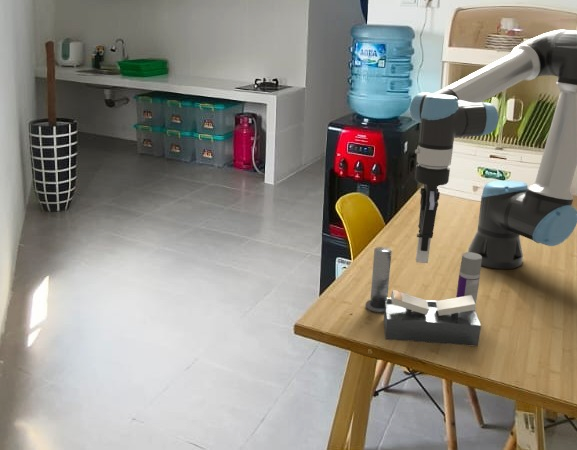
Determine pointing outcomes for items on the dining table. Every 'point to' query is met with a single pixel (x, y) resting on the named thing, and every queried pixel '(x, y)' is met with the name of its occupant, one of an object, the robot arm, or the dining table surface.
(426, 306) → the paddle
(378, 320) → the dining table surface
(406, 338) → the grey channel rail
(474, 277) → the container
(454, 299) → the paddle
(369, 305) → the post
